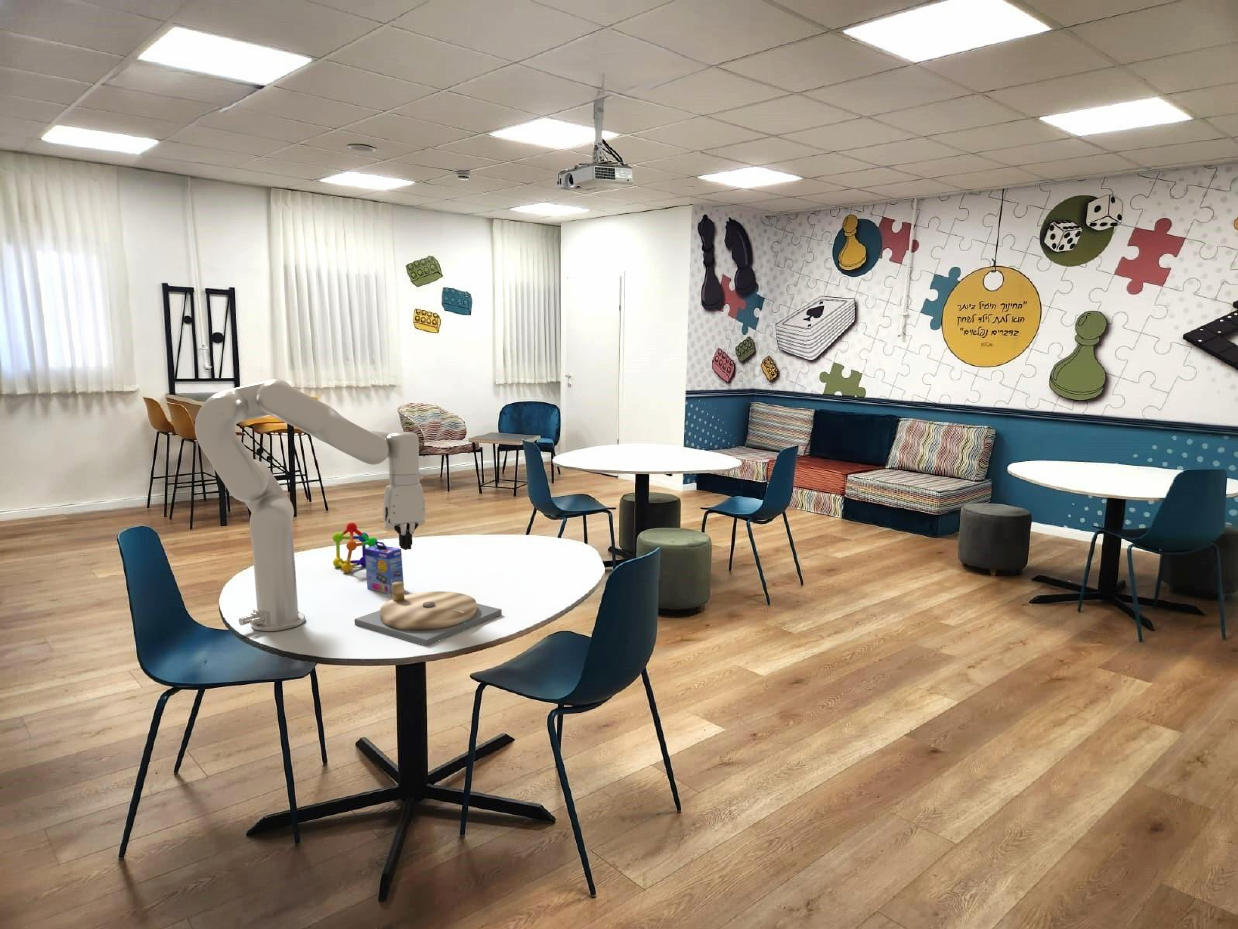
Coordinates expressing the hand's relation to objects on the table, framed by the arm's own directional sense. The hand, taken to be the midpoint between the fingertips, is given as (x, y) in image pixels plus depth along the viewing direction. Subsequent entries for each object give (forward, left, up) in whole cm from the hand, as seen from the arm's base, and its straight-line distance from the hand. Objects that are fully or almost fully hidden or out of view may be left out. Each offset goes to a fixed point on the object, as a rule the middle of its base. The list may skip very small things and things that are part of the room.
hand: (405, 548), depth 214 cm
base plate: (-2, -10, -17) cm, 20 cm away
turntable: (-2, -10, -15) cm, 18 cm away
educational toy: (+19, +46, -17) cm, 52 cm away
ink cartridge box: (+9, +20, -17) cm, 27 cm away
